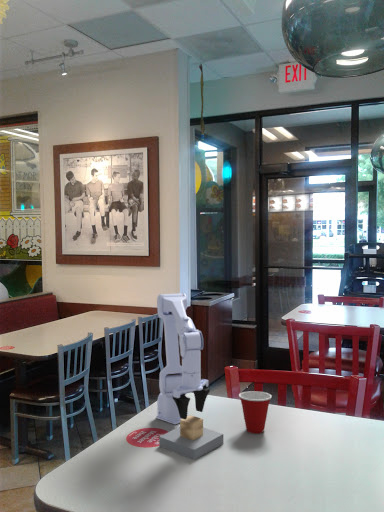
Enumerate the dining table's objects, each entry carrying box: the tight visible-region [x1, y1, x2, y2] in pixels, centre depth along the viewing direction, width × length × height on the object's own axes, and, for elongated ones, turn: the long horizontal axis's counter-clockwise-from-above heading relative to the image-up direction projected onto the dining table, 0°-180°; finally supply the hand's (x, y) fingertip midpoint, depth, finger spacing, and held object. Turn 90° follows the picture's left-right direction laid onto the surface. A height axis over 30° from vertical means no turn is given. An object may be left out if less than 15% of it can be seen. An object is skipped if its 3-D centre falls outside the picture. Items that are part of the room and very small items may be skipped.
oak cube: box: [179, 414, 204, 440], centre depth 145 cm, size 5×5×5 cm
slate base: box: [158, 426, 224, 461], centre depth 146 cm, size 14×14×3 cm
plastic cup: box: [238, 390, 273, 434], centre depth 157 cm, size 11×11×12 cm
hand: (191, 414), depth 146 cm, fingers open, 7 cm apart
